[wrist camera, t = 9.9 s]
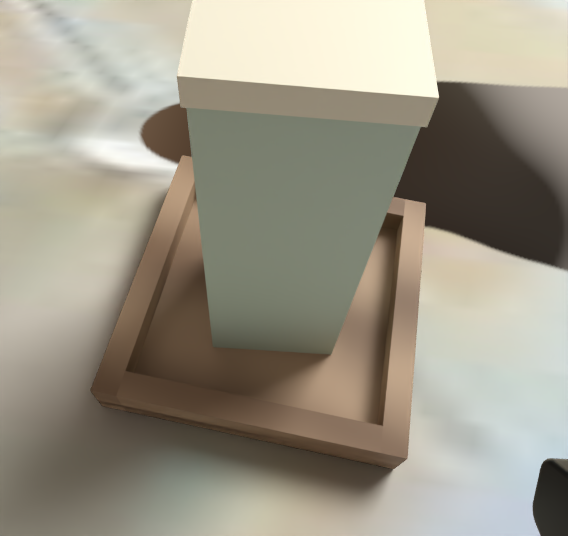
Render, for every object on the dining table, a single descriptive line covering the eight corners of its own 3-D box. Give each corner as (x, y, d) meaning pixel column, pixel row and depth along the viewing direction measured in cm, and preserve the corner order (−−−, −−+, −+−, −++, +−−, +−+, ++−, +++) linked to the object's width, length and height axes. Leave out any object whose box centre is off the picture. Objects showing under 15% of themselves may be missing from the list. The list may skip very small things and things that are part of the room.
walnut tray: (394, 469, 22) (407, 458, 20) (101, 405, 22) (90, 390, 20) (414, 227, 28) (426, 203, 26) (185, 181, 28) (182, 155, 26)
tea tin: (333, 357, 23) (439, 97, 11) (210, 349, 23) (177, 76, 11) (332, 252, 26) (416, -49, 13) (222, 245, 25) (206, -69, 13)
